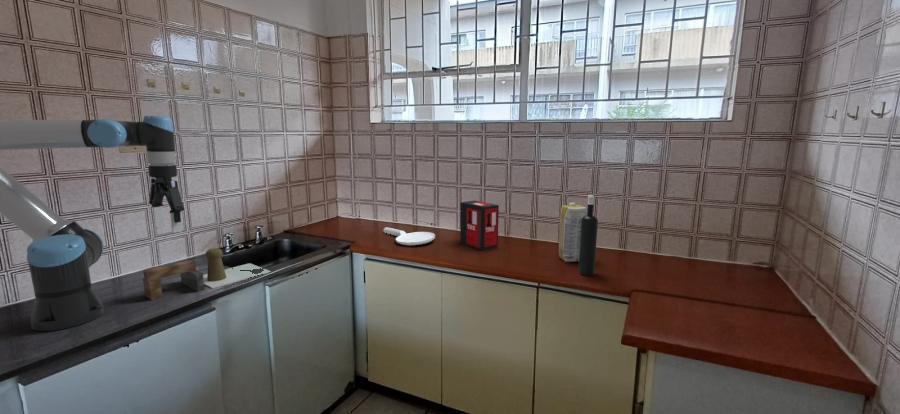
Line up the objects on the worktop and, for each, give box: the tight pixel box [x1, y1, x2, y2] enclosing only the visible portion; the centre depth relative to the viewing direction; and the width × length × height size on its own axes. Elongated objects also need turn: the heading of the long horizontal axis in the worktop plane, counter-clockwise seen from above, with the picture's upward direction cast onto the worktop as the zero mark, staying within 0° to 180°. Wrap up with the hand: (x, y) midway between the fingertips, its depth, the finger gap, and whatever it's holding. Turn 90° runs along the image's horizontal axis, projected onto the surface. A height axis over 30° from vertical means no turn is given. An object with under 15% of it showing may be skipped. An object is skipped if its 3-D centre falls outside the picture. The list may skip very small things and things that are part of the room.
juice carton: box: [558, 202, 587, 263], centre depth 169 cm, size 9×8×24 cm
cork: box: [205, 247, 226, 281], centre depth 146 cm, size 6×6×11 cm
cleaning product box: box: [459, 200, 500, 252], centre depth 191 cm, size 16×9×20 cm, turn 38°
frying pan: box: [383, 227, 436, 246], centre depth 204 cm, size 35×19×5 cm, turn 43°
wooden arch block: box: [142, 259, 206, 301], centre depth 136 cm, size 14×14×9 cm
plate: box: [203, 262, 272, 290], centre depth 152 cm, size 21×16×1 cm
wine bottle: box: [578, 194, 599, 277], centre depth 152 cm, size 6×6×30 cm
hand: (168, 228), depth 135 cm, fingers open, 13 cm apart
